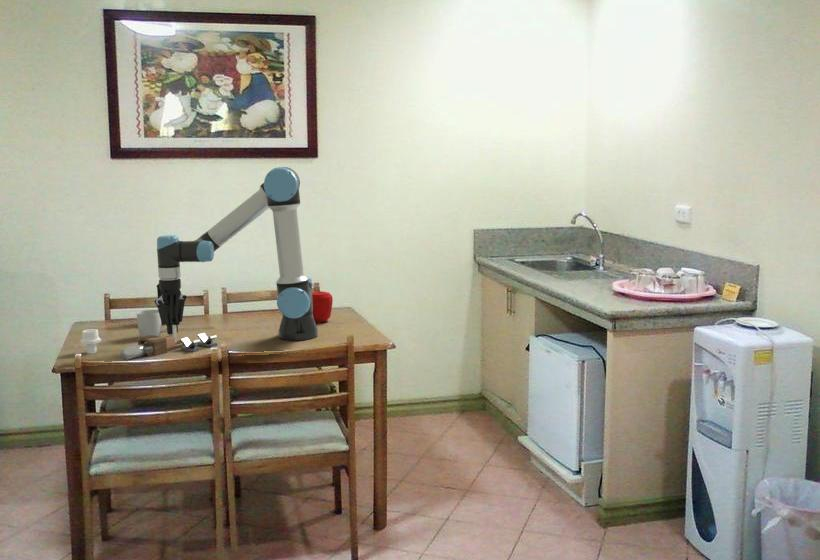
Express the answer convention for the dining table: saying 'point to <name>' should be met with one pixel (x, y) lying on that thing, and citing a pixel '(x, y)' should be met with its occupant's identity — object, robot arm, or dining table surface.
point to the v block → (198, 343)
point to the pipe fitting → (90, 340)
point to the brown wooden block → (167, 341)
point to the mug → (149, 323)
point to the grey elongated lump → (136, 351)
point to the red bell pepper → (321, 306)
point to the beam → (158, 344)
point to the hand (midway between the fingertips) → (173, 342)
